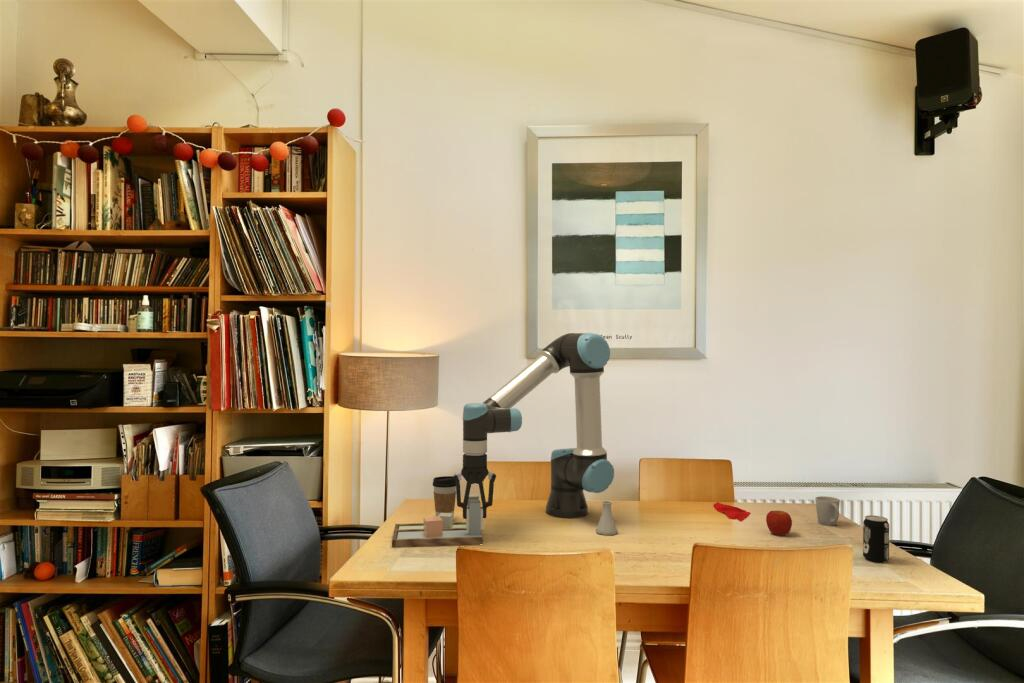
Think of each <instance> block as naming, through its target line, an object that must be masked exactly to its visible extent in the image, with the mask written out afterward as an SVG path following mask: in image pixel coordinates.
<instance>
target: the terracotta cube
mask: <svg viewBox="0 0 1024 683" xmlns="http://www.w3.org/2000/svg"><path fill="white" fill-rule="evenodd" d="M423 523H424V535H425V537H426V538H431V537H443V520H442V519H441V517H440V516H436V515H435V516H424V517H423Z"/></svg>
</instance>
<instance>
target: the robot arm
mask: <svg viewBox="0 0 1024 683" xmlns="http://www.w3.org/2000/svg"><path fill="white" fill-rule="evenodd" d="M610 357H611V349H610V345H609V343H608V341H607V340H606V339H605V338H604V337H603V336H602V335H600V334H598V333H592V332H585V333H584V332H583V333H582V332H581V333H580V332H578V333H576V332H575V333H574V332H569V333H565V334H563V335H561V336H558V338H556V339H554V340H553V341H552V342H551V343H549V344H547V346H545V347H544V348H543V349H542V350H541V351H539V352H538V356H537V358H535V359H534V360H532V361H531V362H530V363H529V364H528V365H527V366H525V367H524V368H523V369H522V370H520V371H519V373H517V374H516V375H515V376H514V377H511V378H510V380H509V381H507V382H506V383H505V384H504V385H502V386H501V387H500V388H499V389H498V390H497V391H495V392H494V393H493V394H492V395H491V396H489V397H488V398H487V399H486V400H485V401H483V402H482V403H481V402H478V403H477V402H476V403H475V402H473V403H472V402H471V403H470V402H469V403H466V404H464V406H463V411H462V452H463V455H462V469H461V470H460V472H458V473H454V474H453V476H454V480H455V482H456V506H457V507H458V508H462V519H463V520H465V522H466V529H467V530H469V507H467V504H468V499H469V494H471V493H470V492H471V488H472V485H474V484H478V488H479V494H480V498H481V500H480V502H481V531H483V529H484V519H487V513H488V511H487V508H489V507H492V506H493V505H494V504H493V501H494V486H495V481H496V479H497V475H496V473H493V472H491V471H489V469H488V455H487V452H488V434H493V433H494V434H495V433H513V432H518V431H520V429H521V428H522V424H523V416H522V413H521V411H520V409H518V408H516V407H514V406H516V404H517V403H519V402H520V401H521V400H522V399H524V398H525V397H526V396H527V395H528V394H529V393H531V392H532V391H533V390H534V389H536V388H537V387H538V386H539V385H540V384H541V383H543V382H544V381H545V380H546V379H547V378H549V377H550V375H552V374H558V373H559V372H560V371H562V370H563V369H565V368H568V367H569V374H570V375H571V376H572V377H573V378H574V396H575V397H574V398H575V400H574V402H575V404H574V405H575V425H576V426H575V428H576V429H575V430H576V447H573V448H572V447H571V448H559V449H558V448H557V449H554V450H552V451H551V454H550V492H549V496H548V499H547V502H546V505H545V513H546V514H547V515H549V516H553V517H556V518H564V519H565V518H566V519H567V518H570V519H571V518H581V517H585V516H587V515H588V513H589V507H588V503H587V500H586V496H585V493H584V491H585V492H588V493H594V494H599V493H603V492H605V491H606V490H607V489H608V488H609V487H610V486H611V485H612V483H613V482H614V481H613V480H614V477H615V468H614V465H613V464H612V463H611V462H610V461H609V460H608V454H607V450H606V449H605V448H604V447H603V438H602V437H603V436H602V411H601V410H602V409H601V408H602V406H601V403H602V402H601V381H600V380H601V379H600V377H601V376H602V375H603V373H604V372H605V370H604V369H605V366H606V365H607V364H608V361H609V360H610ZM487 476H488V480H489V484H488V493H487V494H488V497H487V499H486V493H485V488H484V483H483V482H484V481H485V479H486V477H487ZM462 478H464V480H465V481H466V483H465V484H466V486H465V490H464V495H463V496H464V497H463V502H462V499H461V498H462V495H461V494H462V492H461V482H460V481H461V480H462ZM486 500H487V501H486Z"/></svg>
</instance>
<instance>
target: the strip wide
mask: <svg viewBox="0 0 1024 683" xmlns="http://www.w3.org/2000/svg"><path fill="white" fill-rule="evenodd" d="M481 507H482V501H481V500H480V499H479V500H469V530H454V531H443V537H431V538H450V537H483V536H482V534H481V531H482V530H481ZM414 538H426V537H425V535H424V531H417V532H398V536H397V539H414Z"/></svg>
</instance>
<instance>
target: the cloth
mask: <svg viewBox="0 0 1024 683" xmlns="http://www.w3.org/2000/svg"><path fill="white" fill-rule="evenodd" d="M712 507H713V508H714V510H715V511H717V512H719V513H723V514H725V515H726V516H727V518H728V520H729V519H730V520H737V521H738V522H743V521H744V520H746V519H747V518H749V517H750V515H751V512H750V511H747V510H745V509H742V508H740V507H738V506H733V505H730V504H725V503H720V502H719V501H717V502H715V503H714V504H713V505H712Z"/></svg>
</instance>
